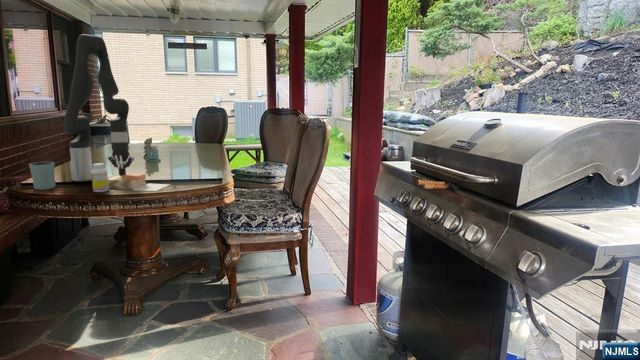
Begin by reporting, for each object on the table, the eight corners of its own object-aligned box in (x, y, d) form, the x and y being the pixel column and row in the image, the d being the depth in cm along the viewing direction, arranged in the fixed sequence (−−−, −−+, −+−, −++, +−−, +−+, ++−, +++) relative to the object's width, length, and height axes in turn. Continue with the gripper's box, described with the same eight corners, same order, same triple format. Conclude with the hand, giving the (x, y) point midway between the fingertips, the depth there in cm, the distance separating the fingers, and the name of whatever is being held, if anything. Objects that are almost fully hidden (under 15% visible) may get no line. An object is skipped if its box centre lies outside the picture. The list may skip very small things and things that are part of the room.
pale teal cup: (38, 191, 196) (35, 165, 193) (28, 188, 201) (24, 163, 199) (61, 187, 204) (58, 162, 202) (50, 184, 210) (47, 160, 207)
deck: (96, 187, 205) (95, 179, 204) (109, 182, 215) (108, 175, 214) (133, 189, 202) (133, 181, 201) (145, 184, 211) (145, 177, 211)
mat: (132, 190, 200) (132, 189, 200) (148, 184, 213) (148, 183, 213) (155, 191, 198) (155, 190, 198) (170, 185, 211) (170, 184, 211)
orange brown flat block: (121, 179, 204) (121, 175, 204) (129, 177, 210) (129, 173, 210) (138, 180, 203) (138, 176, 202) (145, 177, 208) (145, 173, 208)
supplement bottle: (96, 189, 201) (94, 162, 198) (111, 189, 202) (108, 162, 199) (90, 192, 195) (87, 165, 192) (105, 192, 195) (102, 165, 192)
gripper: (102, 141, 201) (105, 176, 204) (127, 142, 199) (130, 178, 202) (112, 139, 208) (115, 173, 212) (136, 140, 206) (139, 175, 209)
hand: (122, 176), depth 207 cm, fingers closed
